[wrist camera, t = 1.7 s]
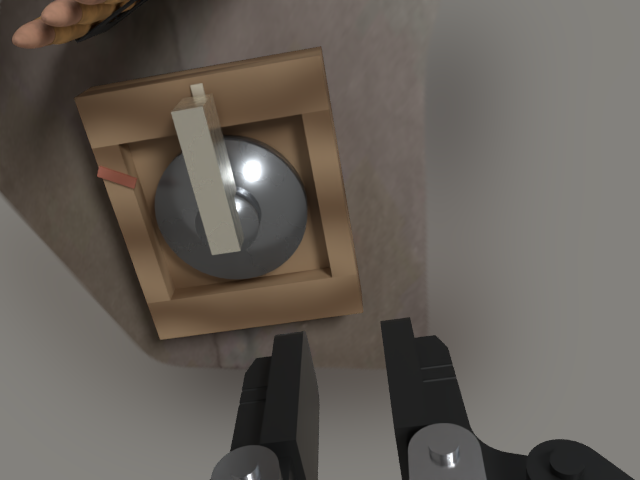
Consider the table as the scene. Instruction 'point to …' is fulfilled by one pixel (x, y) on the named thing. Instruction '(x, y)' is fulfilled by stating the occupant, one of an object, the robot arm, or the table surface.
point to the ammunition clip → (73, 21)
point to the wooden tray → (235, 119)
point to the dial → (228, 198)
